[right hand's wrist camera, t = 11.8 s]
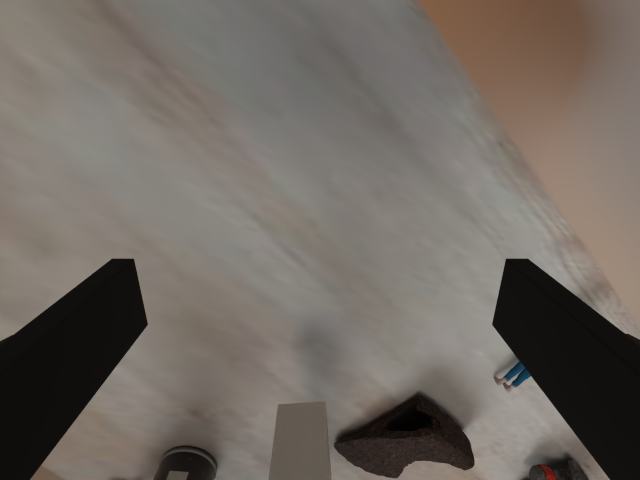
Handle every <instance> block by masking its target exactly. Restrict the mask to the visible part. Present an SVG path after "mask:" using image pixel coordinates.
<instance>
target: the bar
mask: <svg viewBox="0 0 640 480" xmlns="http://www.w3.org/2000/svg"><path fill="white" fill-rule="evenodd" d="M269 480H332V479H331V467H330V454H329V441H328V428H327V415H326V403H325V402H313V403H296V404H279V405H278V410H277V418H276V426H275V434H274V442H273V450H272V458H271V466H270V474H269Z"/></svg>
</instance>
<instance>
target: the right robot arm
mask: <svg viewBox="0 0 640 480" xmlns="http://www.w3.org/2000/svg"><path fill="white" fill-rule="evenodd" d="M147 325H148V323H147V318H146V314H145V309H144V304H143V299H142V295H141V290H140V285H139V281H138V276H137V271H136V266H135V262H134V259H111V260H110V261H109V262H107V263H106V264H105V265H103V266H102V267H101V268H100V269H98V270H97V271H96V272H94V273H93V274H92V275H91V276H89V277H88V278H87V279H85V280H84V281H83V282H81V283H80V284H79V285H78V286H76V287H75V288H74V289H72V290H71V291H70V292H69V293H67V294H66V295H65V296H63V297H62V298H61V299H59V300H58V301H57V302H56V303H54V304H53V305H52V306H50V307H49V308H48V309H46V310H45V311H44V312H43V313H41V314H40V315H39V316H37V317H36V318H35V319H34V320H32V321H31V322H30V323H28V324H27V325H26V326H24V327H23V328H22V329H21V330H19V331H18V332H17V333H15V334H14V335H12V336H10V337H8V338H6V339H4V340H2V341H0V480H30V479H31V477H32V476H33V475H34V473H35V472H36V471H37V470H38V468H39V467H40V466H41V464H42V463H43V462H44V460H45V459H46V458H47V456H48V455H49V454H50V452H51V451H52V450H53V449H54V447H55V446H56V445H57V443H58V442H59V441H60V439H61V438H62V437H63V435H64V434H65V433H66V431H67V430H68V429H69V428H70V426H71V425H72V424H73V422H74V421H75V420H76V418H77V417H78V416H79V414H80V413H81V412H82V410H83V409H84V408H85V406H86V405H87V404H88V403H89V401H90V400H91V399H92V397H93V396H94V395H95V393H96V392H97V391H98V389H99V388H100V387H101V385H102V384H103V383H104V382H105V380H106V379H107V378H108V376H109V375H110V374H111V372H112V371H113V370H114V368H115V367H116V366H117V364H118V363H119V362H120V361H121V359H122V358H123V357H124V355H125V354H126V353H127V351H128V350H129V349H130V347H131V346H132V345H133V343H134V342H135V341H136V339H137V338H138V337H139V336H140V334H141V333H142V332H143V330H144V329H145V328H146V326H147ZM492 325H493V326H494V328H495V329H496V330H497V332H498V333H499V334H500V336H501V337H502V338H503V339H504V341H505V342H506V343H507V345H508V346H509V347H510V349H511V350H512V351H513V353H514V354H515V355H516V357H517V358H518V359H519V361H520V362H521V363H522V364H523V366H524V367H525V368H526V370H527V371H528V372H529V374H530V375H531V376H532V378H533V379H534V380H535V382H536V383H537V384H538V385H539V387H540V388H541V389H542V391H543V392H544V393H545V395H546V396H547V397H548V399H549V400H550V401H551V403H552V404H553V405H554V406H555V408H556V409H557V410H558V412H559V413H560V414H561V416H562V417H563V418H564V420H565V421H566V422H567V424H568V425H569V426H570V428H571V429H572V430H573V431H574V433H575V434H576V435H577V437H578V438H579V439H580V441H581V442H582V443H583V445H584V446H585V447H586V449H587V450H588V451H589V452H590V454H591V455H592V456H593V458H594V459H595V460H596V462H597V463H598V464H599V466H600V467H601V468H602V470H603V471H604V472H605V474H606V475H607V476H608V477H609V479H610V480H640V340H639V339H637V338H635V337H633V336H631V335H629V334H625V333H623V332H622V331H621V330H619V329H618V328H617V327H616V326H614V325H613V324H612V323H610V322H609V321H608V320H606V319H605V318H604V317H603V316H601V315H600V314H599V313H597V312H596V311H595V310H594V309H592V308H591V307H590V306H588V305H587V304H586V303H584V302H583V301H582V300H581V299H579V298H578V297H577V296H575V295H574V294H573V293H571V292H570V291H569V290H568V289H566V288H565V287H564V286H562V285H561V284H560V283H559V282H557V281H556V280H555V279H553V278H552V277H551V276H549V275H548V274H547V273H546V272H544V271H543V270H542V269H540V268H539V267H538V266H537V265H535V264H534V263H533V262H531V261H530V260H529V259H506V262H505V266H504V271H503V276H502V281H501V285H500V290H499V295H498V299H497V304H496V309H495V314H494V318H493V323H492Z"/></svg>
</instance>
